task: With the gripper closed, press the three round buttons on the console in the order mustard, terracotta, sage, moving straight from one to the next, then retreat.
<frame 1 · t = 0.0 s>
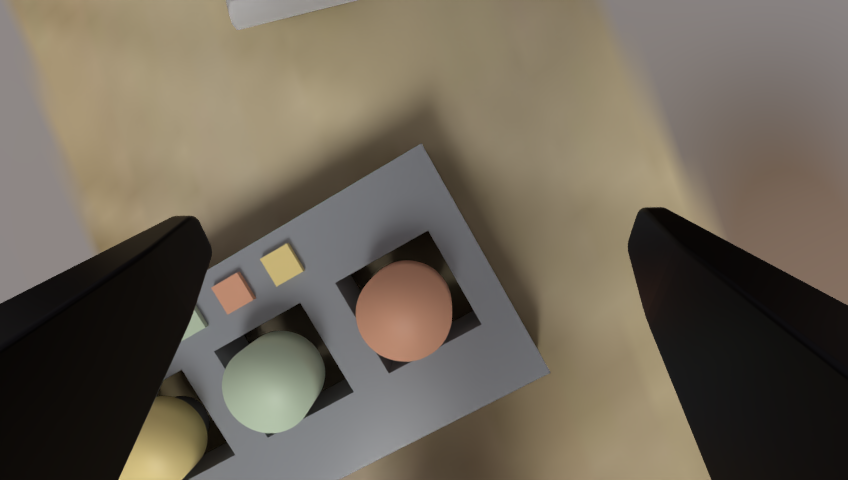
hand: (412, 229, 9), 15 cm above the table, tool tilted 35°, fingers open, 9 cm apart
button sage: (281, 374, 22), point 3 cm above the table, slide at 0.0 cm
button mustard: (164, 438, 22), point 3 cm above the table, slide at 0.0 cm
console: (303, 350, 25), on the table
button terracotta: (407, 305, 21), point 3 cm above the table, slide at 0.0 cm
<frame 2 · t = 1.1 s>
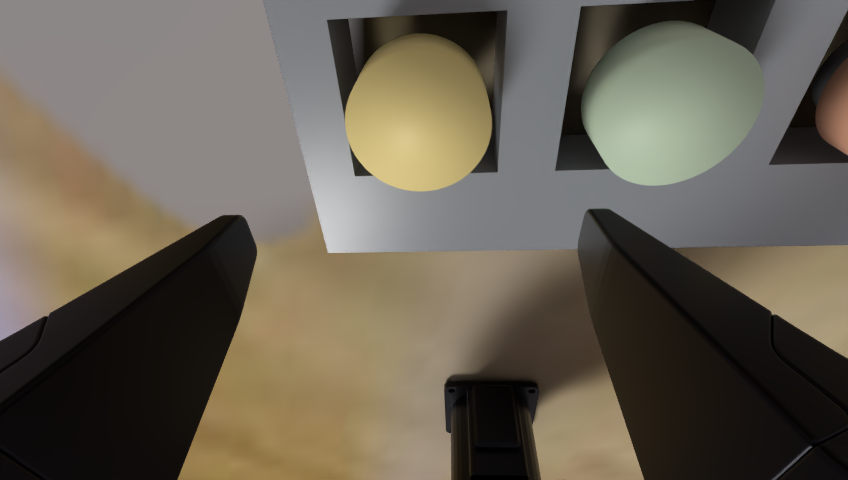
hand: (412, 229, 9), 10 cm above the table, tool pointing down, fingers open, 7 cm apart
button sage: (654, 98, 13), point 3 cm above the table, slide at 0.0 cm
button mustard: (420, 107, 14), point 3 cm above the table, slide at 0.0 cm
console: (621, 67, 16), on the table
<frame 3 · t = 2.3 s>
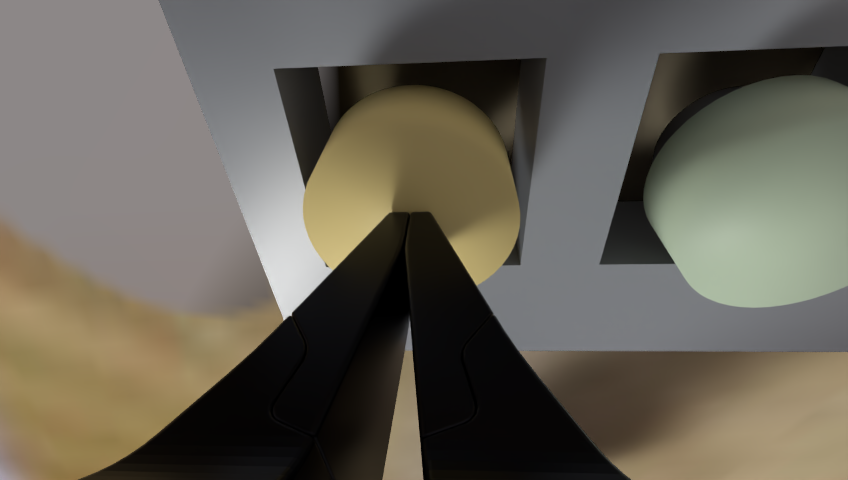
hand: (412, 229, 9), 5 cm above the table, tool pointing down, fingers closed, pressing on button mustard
button sage: (754, 181, 9), point 3 cm above the table, slide at 0.0 cm
button mustard: (415, 183, 10), point 3 cm above the table, slide at 0.3 cm, touching gripper
console: (687, 120, 12), on the table
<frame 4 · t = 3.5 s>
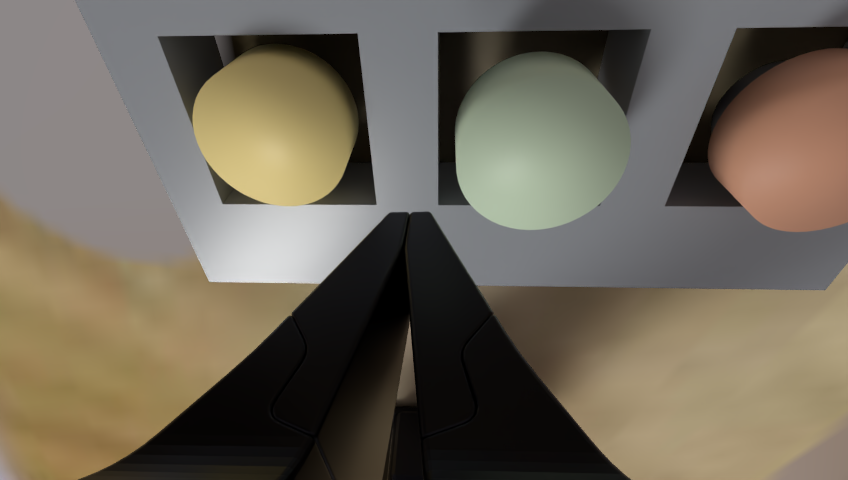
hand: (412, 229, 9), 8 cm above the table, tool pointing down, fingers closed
button sage: (530, 134, 12), point 3 cm above the table, slide at 0.0 cm
button mustard: (288, 119, 13), point 2 cm above the table, slide at 1.2 cm
console: (516, 93, 15), on the table
button terracotta: (798, 133, 12), point 3 cm above the table, slide at 0.0 cm
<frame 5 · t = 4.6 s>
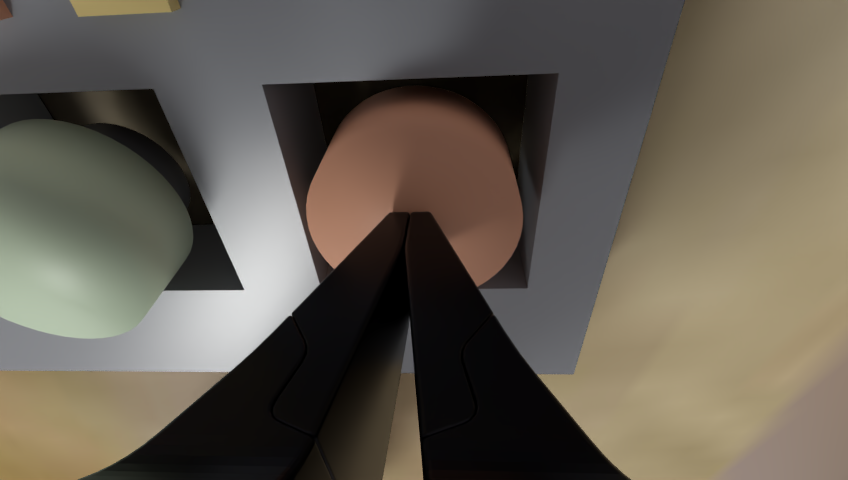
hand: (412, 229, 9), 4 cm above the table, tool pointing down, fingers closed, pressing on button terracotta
button sage: (86, 216, 10), point 3 cm above the table, slide at 0.0 cm
console: (162, 149, 12), on the table
button terracotta: (418, 183, 10), point 2 cm above the table, slide at 1.1 cm, touching gripper
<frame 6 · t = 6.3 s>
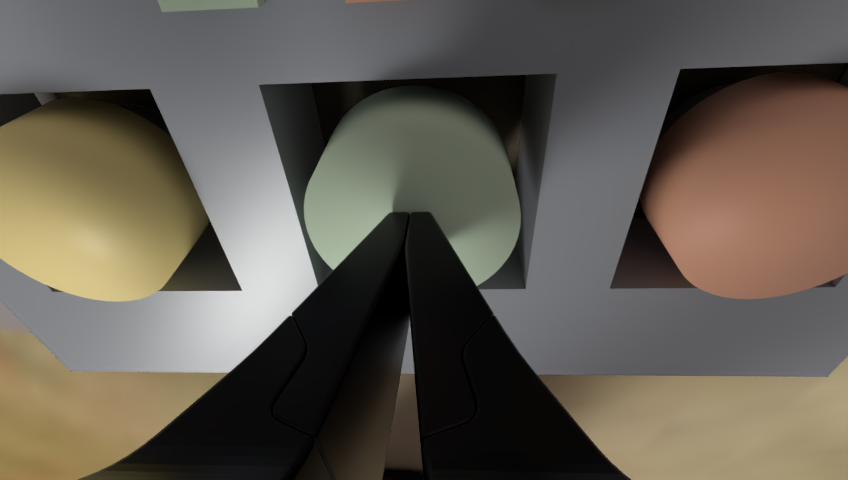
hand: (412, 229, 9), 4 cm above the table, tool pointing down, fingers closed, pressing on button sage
button sage: (416, 183, 10), point 2 cm above the table, slide at 1.1 cm, touching gripper
button mustard: (114, 189, 10), point 2 cm above the table, slide at 1.2 cm
console: (420, 142, 12), on the table
button terracotta: (748, 176, 9), point 2 cm above the table, slide at 1.2 cm
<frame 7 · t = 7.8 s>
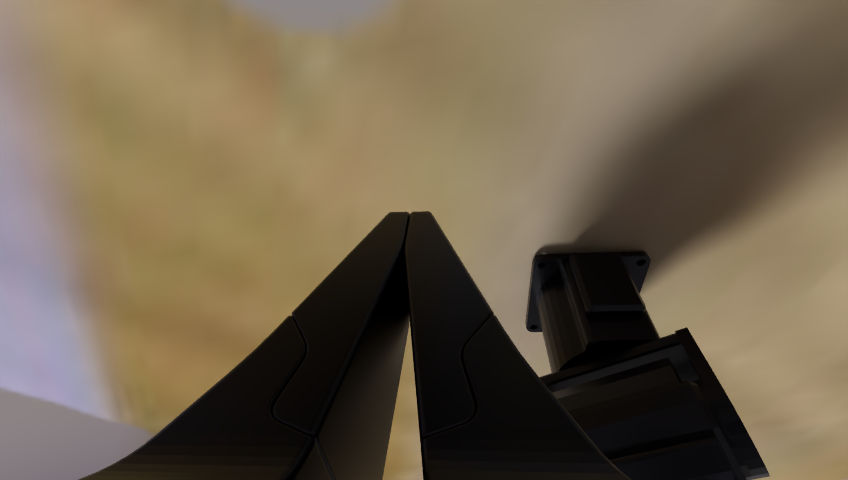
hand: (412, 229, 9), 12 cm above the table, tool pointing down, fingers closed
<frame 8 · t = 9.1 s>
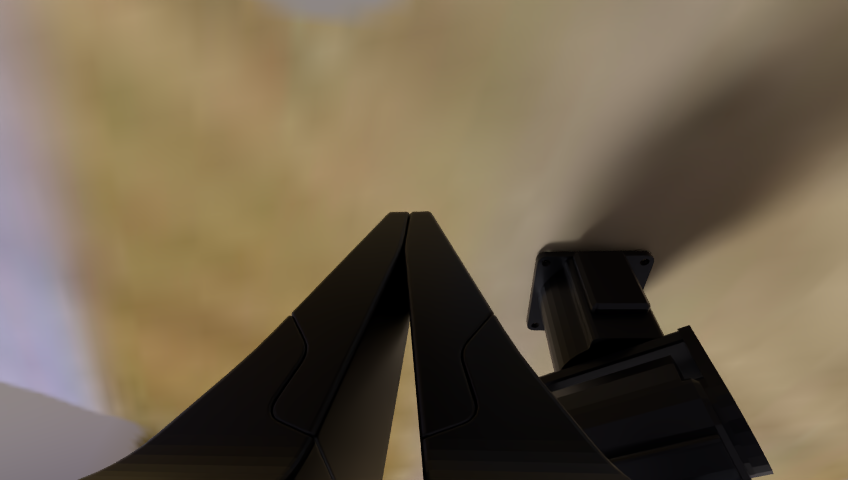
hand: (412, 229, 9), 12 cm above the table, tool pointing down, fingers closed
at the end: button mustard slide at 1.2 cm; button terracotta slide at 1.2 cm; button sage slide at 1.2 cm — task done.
